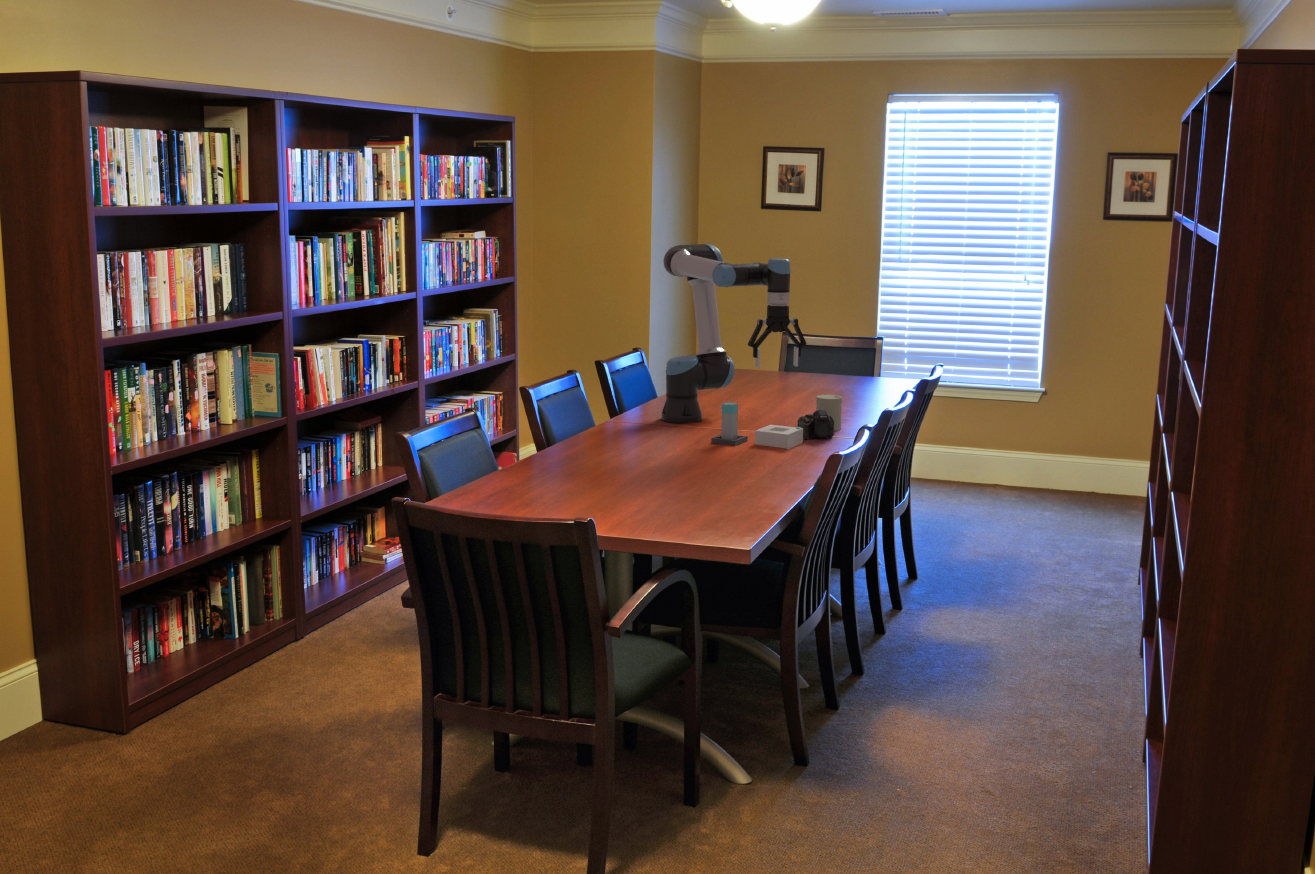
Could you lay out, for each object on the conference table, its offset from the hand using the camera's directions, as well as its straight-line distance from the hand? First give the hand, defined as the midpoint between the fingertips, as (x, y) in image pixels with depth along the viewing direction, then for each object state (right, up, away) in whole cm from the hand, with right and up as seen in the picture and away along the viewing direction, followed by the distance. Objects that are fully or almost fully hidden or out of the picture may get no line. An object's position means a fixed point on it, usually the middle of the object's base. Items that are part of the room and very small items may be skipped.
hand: (776, 366), depth 379 cm
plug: (-17, -26, -8) cm, 32 cm away
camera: (+14, -25, 0) cm, 28 cm away
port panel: (0, -26, -10) cm, 28 cm away
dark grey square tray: (-17, -26, -8) cm, 32 cm away
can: (+20, -21, +16) cm, 33 cm away
